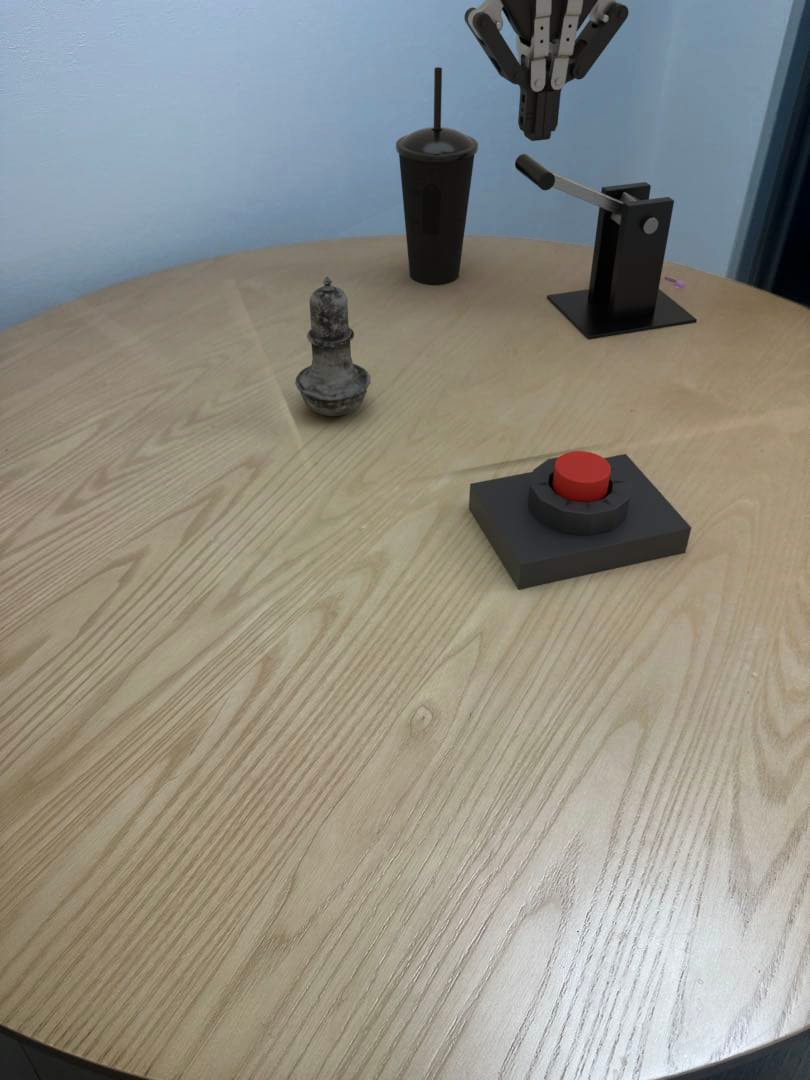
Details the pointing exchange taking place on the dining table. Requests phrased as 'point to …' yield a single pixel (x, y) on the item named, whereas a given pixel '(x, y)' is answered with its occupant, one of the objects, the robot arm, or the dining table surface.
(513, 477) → the button box
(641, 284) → the lever bracket
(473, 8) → the robot arm
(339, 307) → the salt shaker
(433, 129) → the drinking cup
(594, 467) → the button
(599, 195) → the press lever
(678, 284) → the earpods
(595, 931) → the dining table surface
